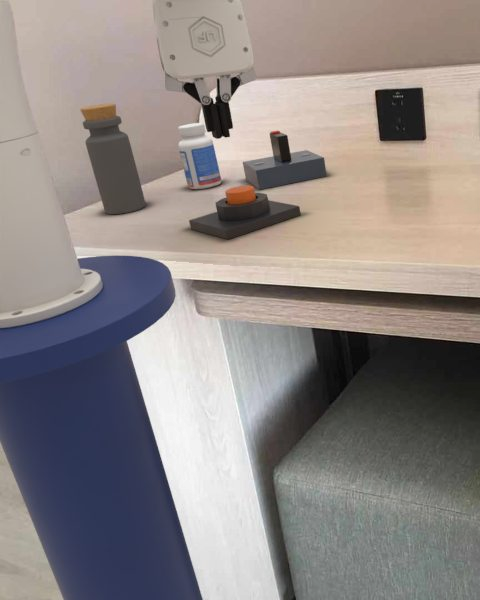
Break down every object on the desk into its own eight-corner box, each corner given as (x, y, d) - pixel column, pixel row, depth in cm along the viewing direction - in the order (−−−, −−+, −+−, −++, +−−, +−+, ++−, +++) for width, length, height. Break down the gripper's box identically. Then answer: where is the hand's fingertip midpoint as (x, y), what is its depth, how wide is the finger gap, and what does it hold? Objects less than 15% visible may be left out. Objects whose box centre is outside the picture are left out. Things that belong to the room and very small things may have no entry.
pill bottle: (227, 180, 113) (214, 120, 109) (213, 189, 108) (199, 126, 104) (197, 182, 114) (183, 123, 110) (182, 190, 109) (167, 129, 105)
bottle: (96, 215, 100) (66, 110, 94) (121, 203, 105) (94, 104, 99) (130, 214, 98) (101, 107, 92) (154, 202, 103) (128, 101, 97)
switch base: (228, 239, 81) (222, 215, 80) (190, 229, 87) (185, 206, 86) (301, 215, 88) (297, 192, 87) (261, 206, 94) (257, 185, 93)
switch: (237, 208, 84) (235, 194, 84) (222, 204, 87) (219, 191, 86) (261, 200, 87) (259, 187, 86) (246, 197, 89) (243, 184, 88)
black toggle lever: (291, 160, 107) (287, 133, 105) (281, 162, 106) (277, 135, 104) (283, 156, 111) (278, 130, 109) (273, 158, 110) (269, 131, 109)
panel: (259, 189, 104) (255, 169, 103) (245, 179, 112) (242, 160, 111) (327, 176, 108) (324, 156, 107) (309, 167, 116) (306, 148, 114)
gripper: (122, -29, 70) (161, 150, 77) (263, -38, 75) (288, 130, 82) (117, -22, 77) (154, 142, 83) (248, -30, 82) (272, 125, 89)
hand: (221, 136), depth 83 cm, fingers closed
